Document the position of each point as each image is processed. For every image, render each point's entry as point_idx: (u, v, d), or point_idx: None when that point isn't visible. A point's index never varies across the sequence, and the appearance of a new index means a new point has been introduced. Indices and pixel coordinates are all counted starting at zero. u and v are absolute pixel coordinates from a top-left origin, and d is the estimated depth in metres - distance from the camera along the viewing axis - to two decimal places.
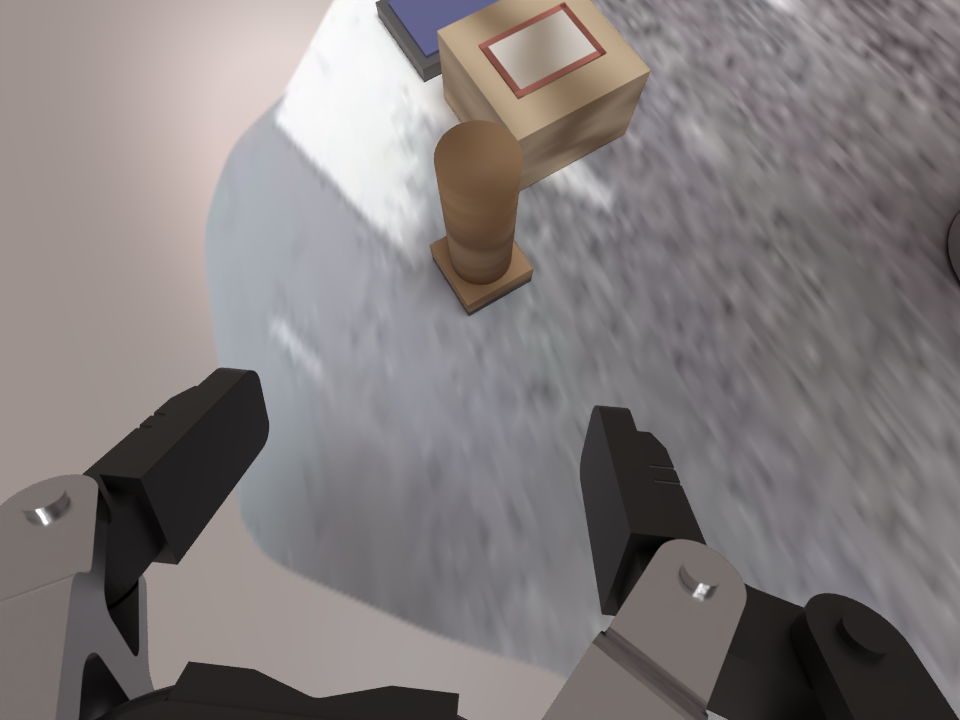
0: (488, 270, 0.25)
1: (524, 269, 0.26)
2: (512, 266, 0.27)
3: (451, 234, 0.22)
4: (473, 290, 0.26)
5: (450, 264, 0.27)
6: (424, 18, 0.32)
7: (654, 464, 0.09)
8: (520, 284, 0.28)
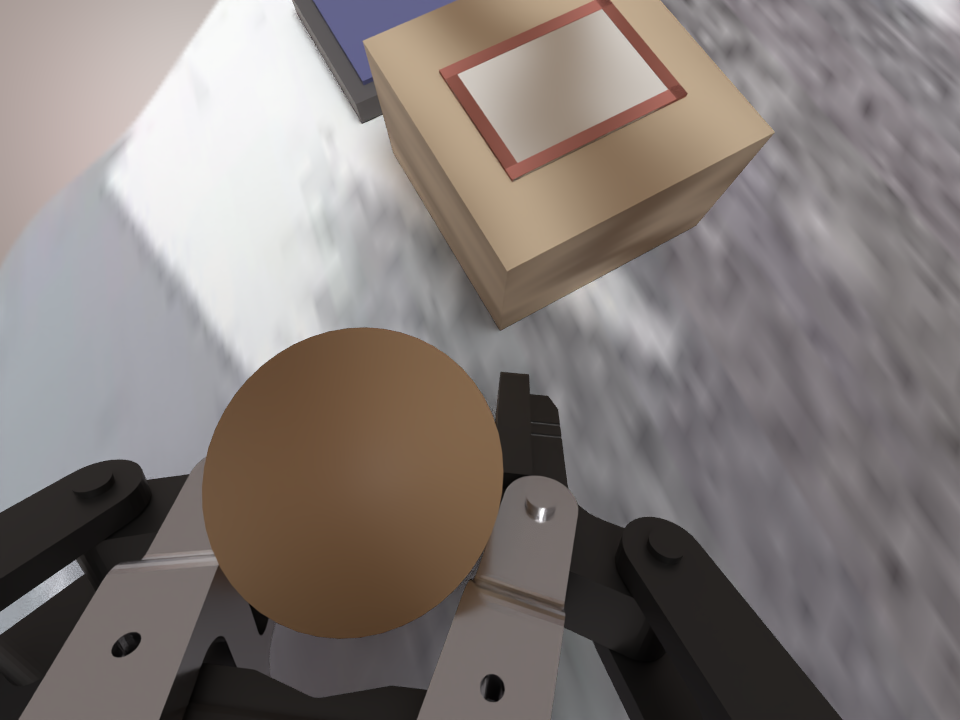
0: None
1: None
2: None
3: None
4: None
5: None
6: (365, 19, 0.19)
7: (542, 421, 0.10)
8: None
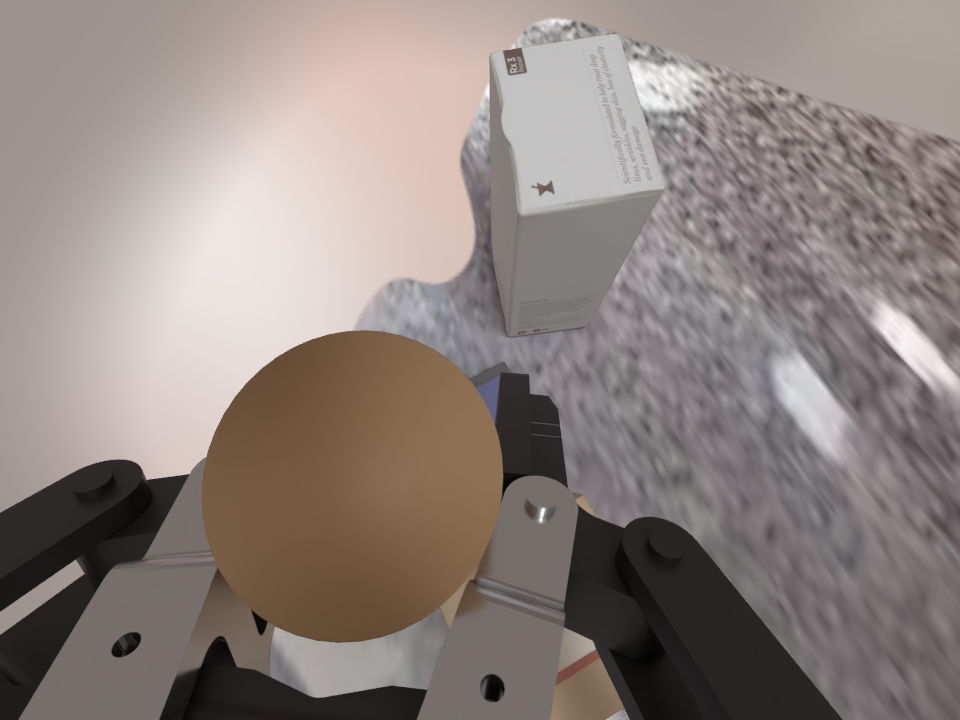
0: None
1: None
2: None
3: None
4: None
5: None
6: None
7: (542, 421, 0.10)
8: None
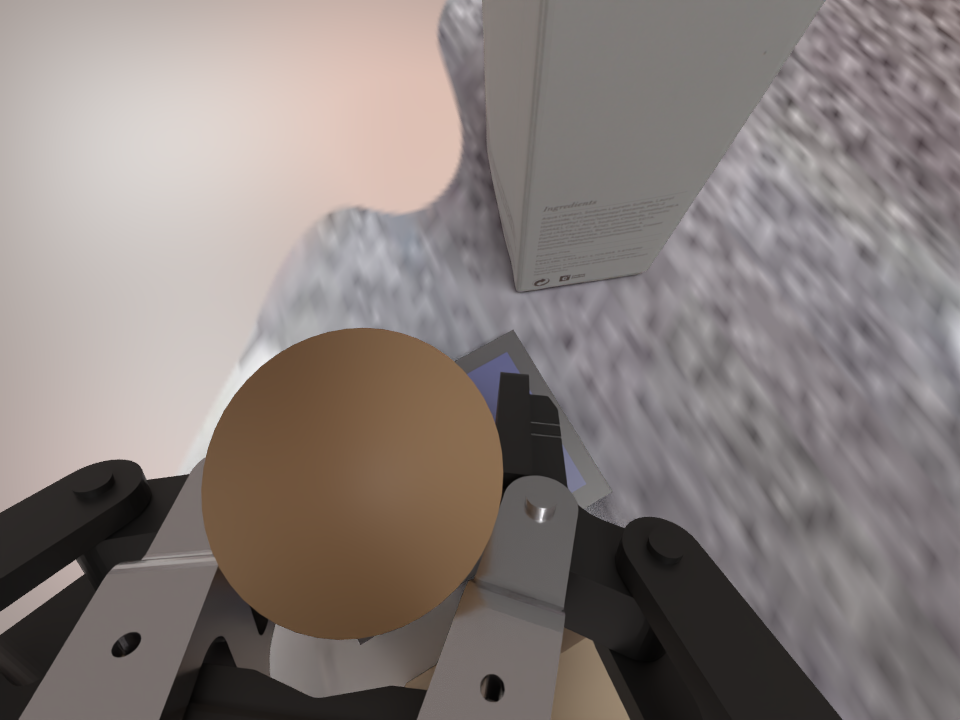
0: None
1: None
2: None
3: None
4: None
5: None
6: None
7: (542, 421, 0.10)
8: None
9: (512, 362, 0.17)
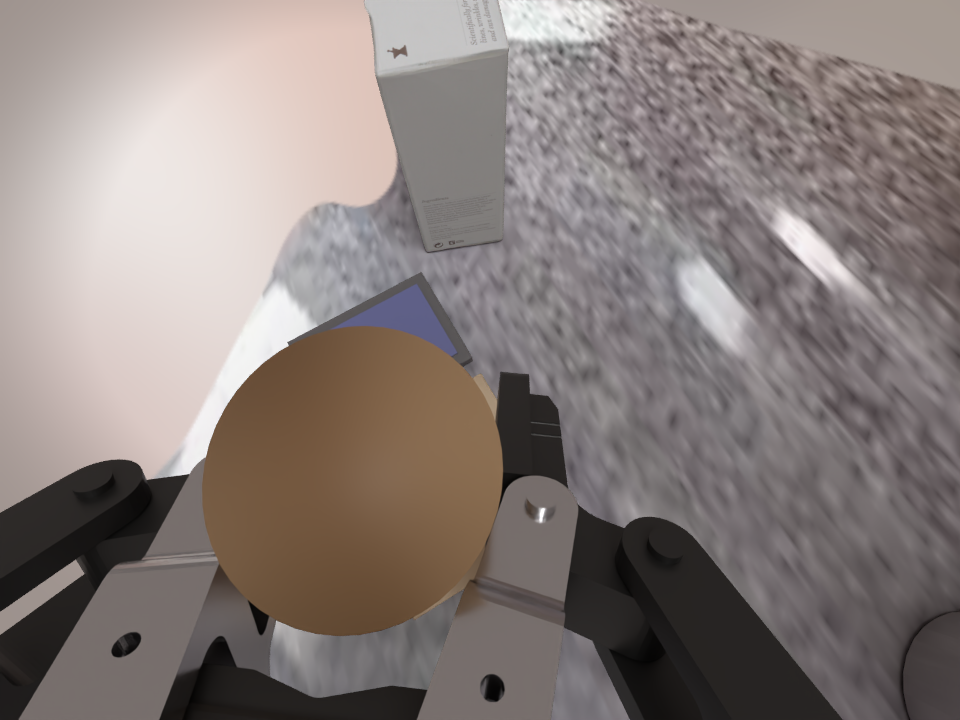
0: None
1: None
2: None
3: None
4: None
5: None
6: None
7: (542, 421, 0.10)
8: None
9: (420, 289, 0.30)
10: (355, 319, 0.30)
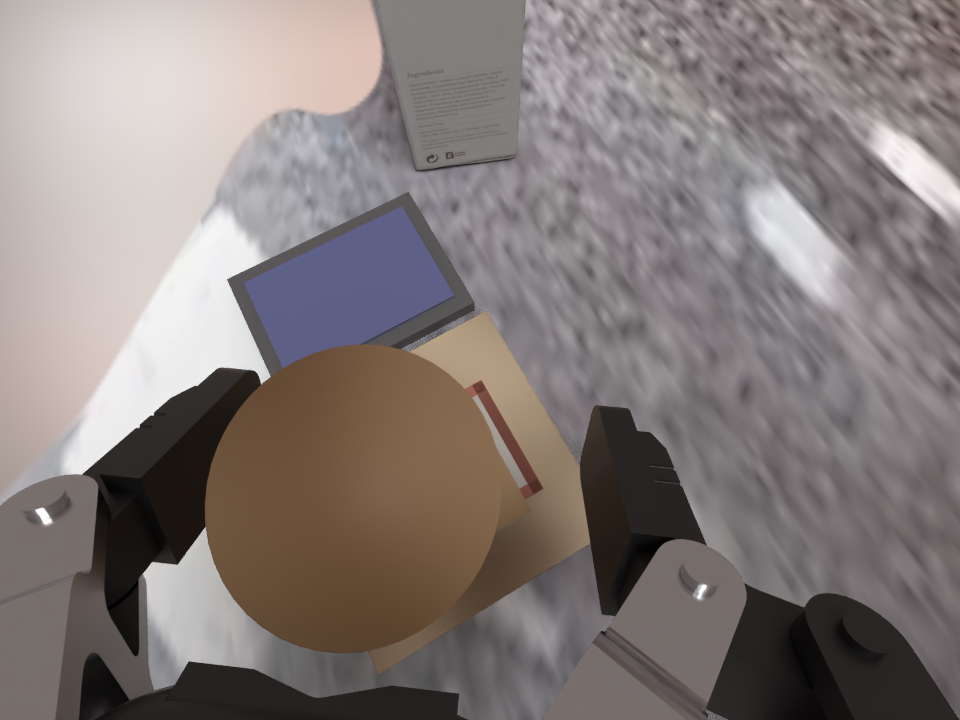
0: None
1: (514, 512, 0.14)
2: None
3: None
4: None
5: None
6: (293, 314, 0.21)
7: (654, 464, 0.09)
8: None
9: (406, 213, 0.23)
10: (318, 250, 0.22)
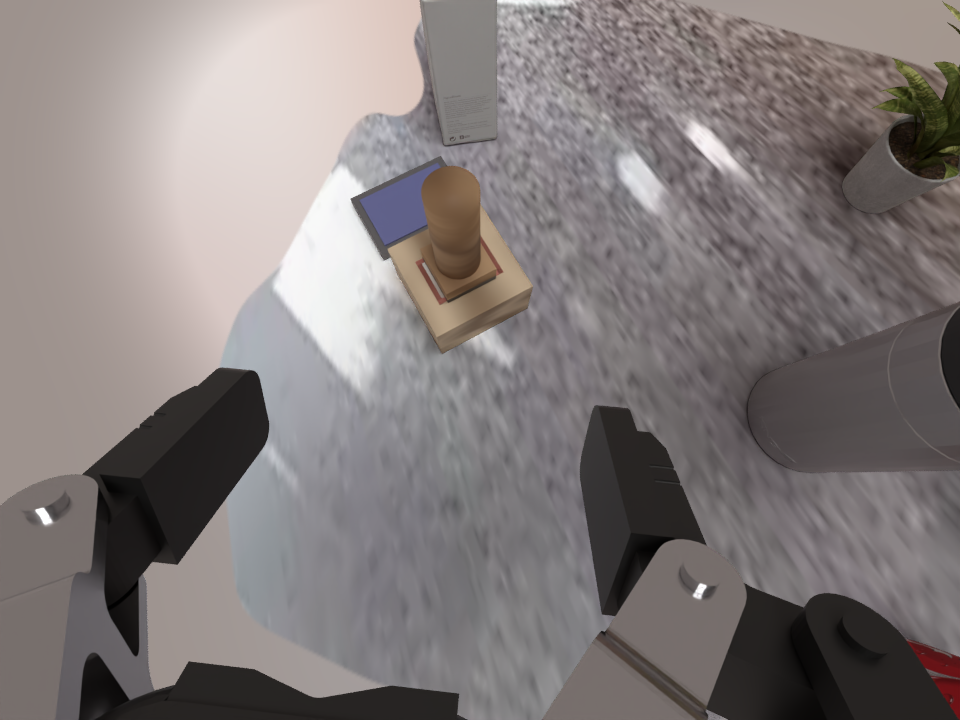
0: (461, 268, 0.34)
1: (489, 269, 0.36)
2: (481, 266, 0.36)
3: (433, 241, 0.31)
4: (451, 283, 0.35)
5: (434, 263, 0.36)
6: (385, 214, 0.43)
7: (654, 464, 0.09)
8: (487, 281, 0.37)
9: (439, 166, 0.45)
10: (396, 184, 0.44)
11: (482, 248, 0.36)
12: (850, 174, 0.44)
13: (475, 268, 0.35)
